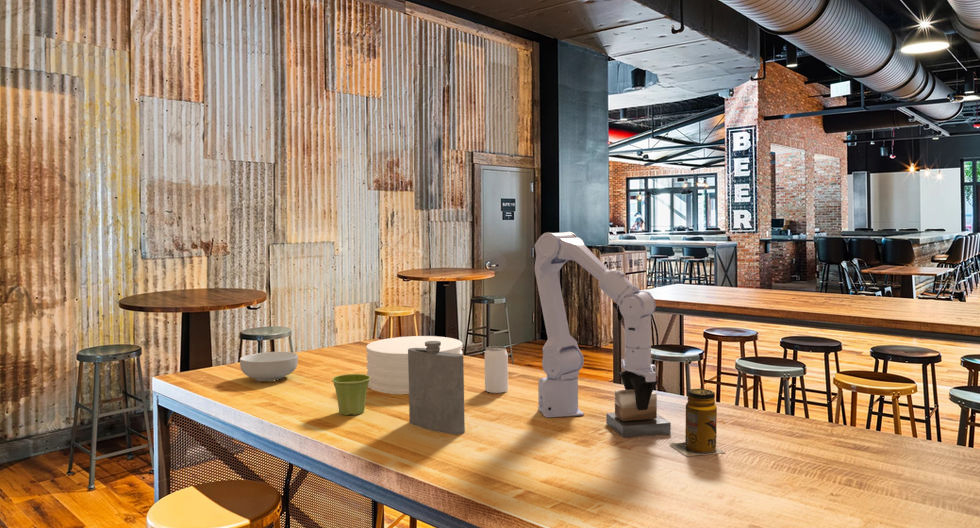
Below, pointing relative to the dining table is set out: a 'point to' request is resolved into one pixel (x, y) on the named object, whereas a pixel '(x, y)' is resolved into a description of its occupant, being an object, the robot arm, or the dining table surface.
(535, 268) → the robot arm
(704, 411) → the condiment
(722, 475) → the dining table surface
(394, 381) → the plate stack
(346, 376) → the plant pot
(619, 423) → the stand
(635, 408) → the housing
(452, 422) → the hip flask
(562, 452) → the dining table surface
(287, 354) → the cereal bowl
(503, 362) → the can
